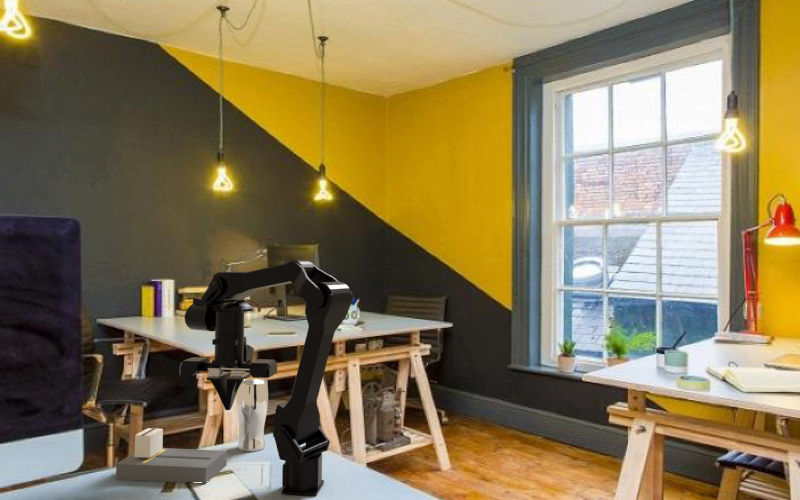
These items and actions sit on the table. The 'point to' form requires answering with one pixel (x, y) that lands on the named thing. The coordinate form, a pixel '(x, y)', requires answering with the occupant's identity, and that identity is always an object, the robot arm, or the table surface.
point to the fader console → (173, 466)
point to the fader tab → (148, 442)
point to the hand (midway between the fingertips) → (228, 409)
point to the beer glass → (252, 413)
